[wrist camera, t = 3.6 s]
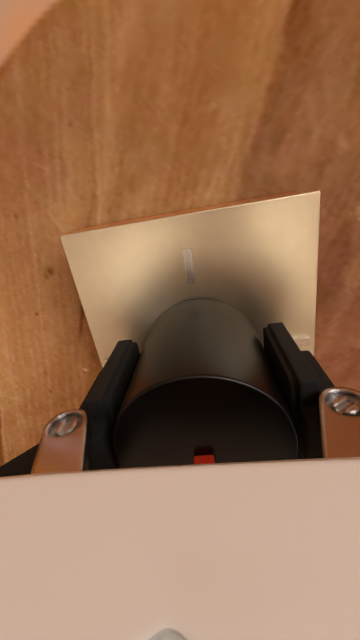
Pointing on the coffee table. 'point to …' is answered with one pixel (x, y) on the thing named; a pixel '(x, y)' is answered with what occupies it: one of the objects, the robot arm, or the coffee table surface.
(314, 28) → the coffee table surface
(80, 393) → the coffee table surface
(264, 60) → the coffee table surface
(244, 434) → the knob
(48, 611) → the robot arm
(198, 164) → the coffee table surface
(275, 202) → the dial panel
